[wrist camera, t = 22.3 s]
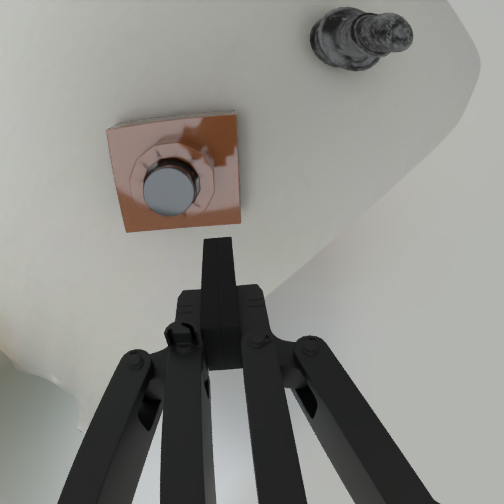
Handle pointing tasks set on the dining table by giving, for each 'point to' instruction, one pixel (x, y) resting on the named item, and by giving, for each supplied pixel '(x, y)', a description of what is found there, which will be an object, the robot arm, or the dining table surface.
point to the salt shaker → (358, 37)
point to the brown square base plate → (186, 151)
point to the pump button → (169, 188)
